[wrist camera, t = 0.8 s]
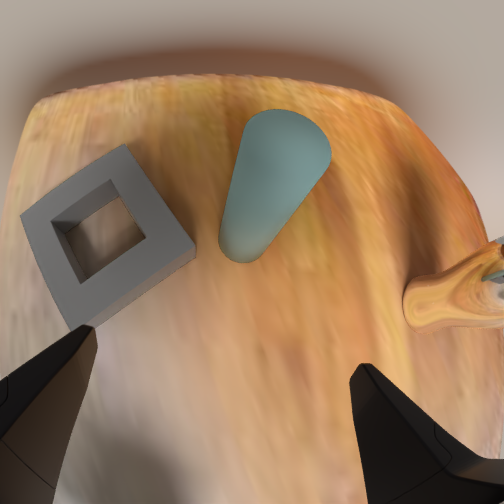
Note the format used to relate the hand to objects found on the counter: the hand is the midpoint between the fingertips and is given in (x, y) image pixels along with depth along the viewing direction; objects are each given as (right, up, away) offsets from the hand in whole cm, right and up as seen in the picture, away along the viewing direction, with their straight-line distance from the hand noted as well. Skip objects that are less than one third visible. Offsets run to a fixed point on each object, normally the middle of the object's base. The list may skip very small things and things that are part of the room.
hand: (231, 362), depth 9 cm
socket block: (-11, +4, +13) cm, 18 cm away
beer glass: (+18, -2, +17) cm, 25 cm away
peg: (0, +5, +15) cm, 16 cm away
